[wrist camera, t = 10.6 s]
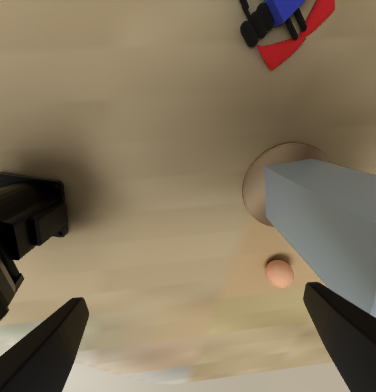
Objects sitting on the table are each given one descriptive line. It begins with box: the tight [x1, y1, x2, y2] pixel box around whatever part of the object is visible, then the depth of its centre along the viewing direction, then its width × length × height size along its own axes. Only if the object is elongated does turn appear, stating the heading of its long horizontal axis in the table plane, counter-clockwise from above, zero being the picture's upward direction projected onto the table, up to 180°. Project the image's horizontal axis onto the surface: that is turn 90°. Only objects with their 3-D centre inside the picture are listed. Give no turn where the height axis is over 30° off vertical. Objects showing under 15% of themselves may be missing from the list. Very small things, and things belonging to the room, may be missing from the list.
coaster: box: [242, 143, 330, 227], centre depth 19 cm, size 9×9×1 cm
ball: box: [265, 260, 294, 288], centre depth 22 cm, size 3×3×3 cm
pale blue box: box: [264, 159, 376, 318], centre depth 14 cm, size 5×6×12 cm
